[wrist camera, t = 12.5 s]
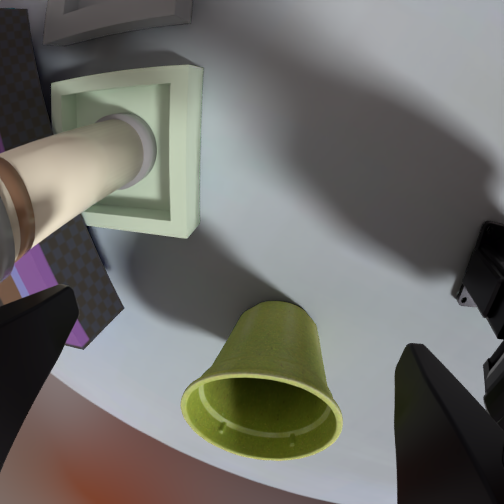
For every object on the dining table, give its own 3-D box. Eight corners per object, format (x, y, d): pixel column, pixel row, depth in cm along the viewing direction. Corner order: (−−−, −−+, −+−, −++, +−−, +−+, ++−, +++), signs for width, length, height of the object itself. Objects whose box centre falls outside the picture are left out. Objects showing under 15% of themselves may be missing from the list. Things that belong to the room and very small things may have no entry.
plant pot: (353, 289, 21) (365, 387, 14) (325, 379, 26) (320, 468, 18) (219, 269, 22) (172, 356, 15) (218, 362, 27) (187, 444, 19)
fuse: (139, 99, 17) (-50, 145, 6) (168, 168, 19) (11, 284, 8) (85, 132, 18) (-81, 202, 7) (111, 194, 20) (-33, 303, 9)
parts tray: (203, 68, 16) (188, 64, 14) (199, 223, 21) (186, 238, 19) (73, 81, 18) (51, 83, 16) (80, 210, 22) (62, 222, 20)
